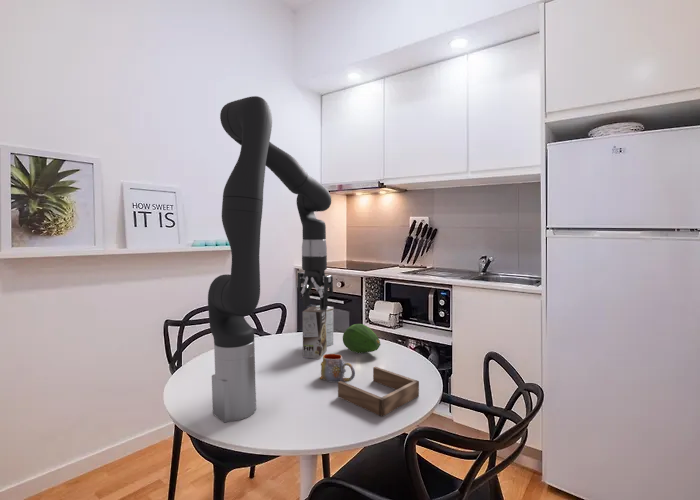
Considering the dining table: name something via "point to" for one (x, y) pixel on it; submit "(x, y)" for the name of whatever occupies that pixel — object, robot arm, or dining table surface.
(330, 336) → the syrup box
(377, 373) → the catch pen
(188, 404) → the dining table surface
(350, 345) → the fruit
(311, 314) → the coffee box
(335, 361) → the mug
